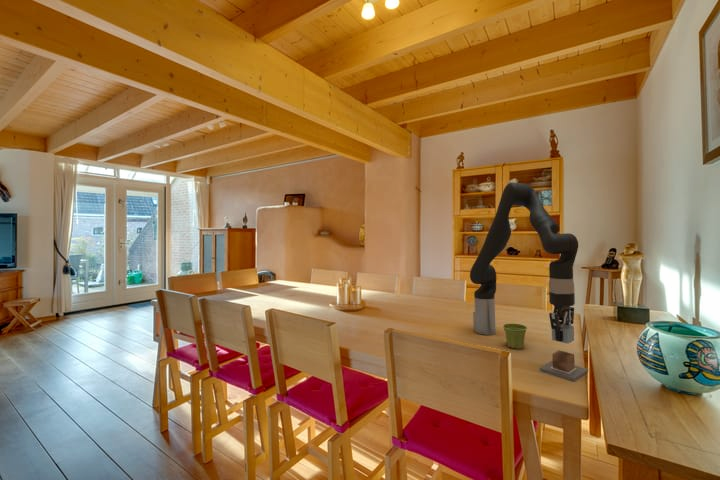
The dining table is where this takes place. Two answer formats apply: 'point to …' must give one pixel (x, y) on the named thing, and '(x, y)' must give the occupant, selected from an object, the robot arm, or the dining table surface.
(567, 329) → the blue block
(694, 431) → the dining table surface
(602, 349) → the dining table surface
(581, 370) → the plate
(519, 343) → the plant pot
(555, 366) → the walnut block
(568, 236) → the robot arm
